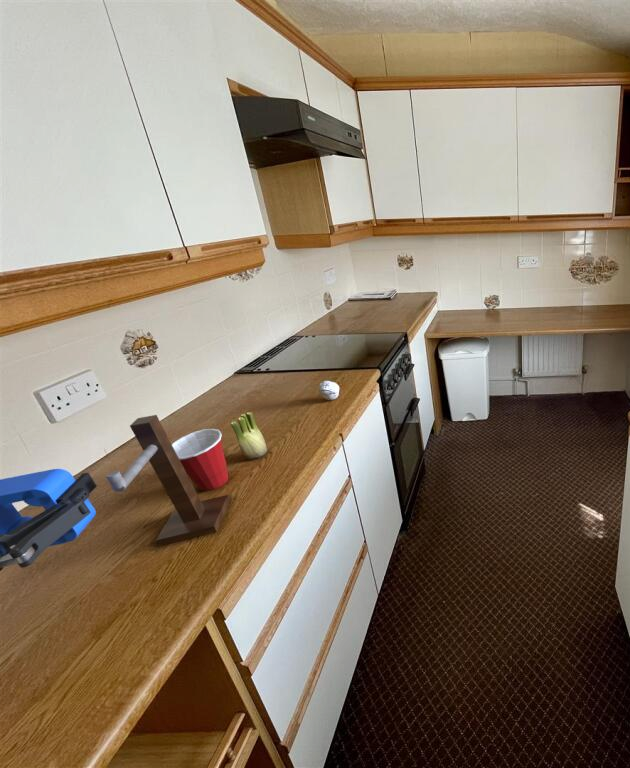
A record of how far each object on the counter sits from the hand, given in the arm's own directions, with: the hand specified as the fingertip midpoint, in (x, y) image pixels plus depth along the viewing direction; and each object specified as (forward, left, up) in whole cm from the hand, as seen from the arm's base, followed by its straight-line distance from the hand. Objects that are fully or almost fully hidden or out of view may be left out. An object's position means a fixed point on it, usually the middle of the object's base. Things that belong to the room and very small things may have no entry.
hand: (47, 488), depth 63 cm
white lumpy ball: (-37, +58, -22) cm, 72 cm away
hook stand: (-2, +12, -21) cm, 25 cm away
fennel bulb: (-22, +31, -22) cm, 44 cm away
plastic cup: (-18, +20, -22) cm, 35 cm away
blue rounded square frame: (+4, -2, -6) cm, 7 cm away
